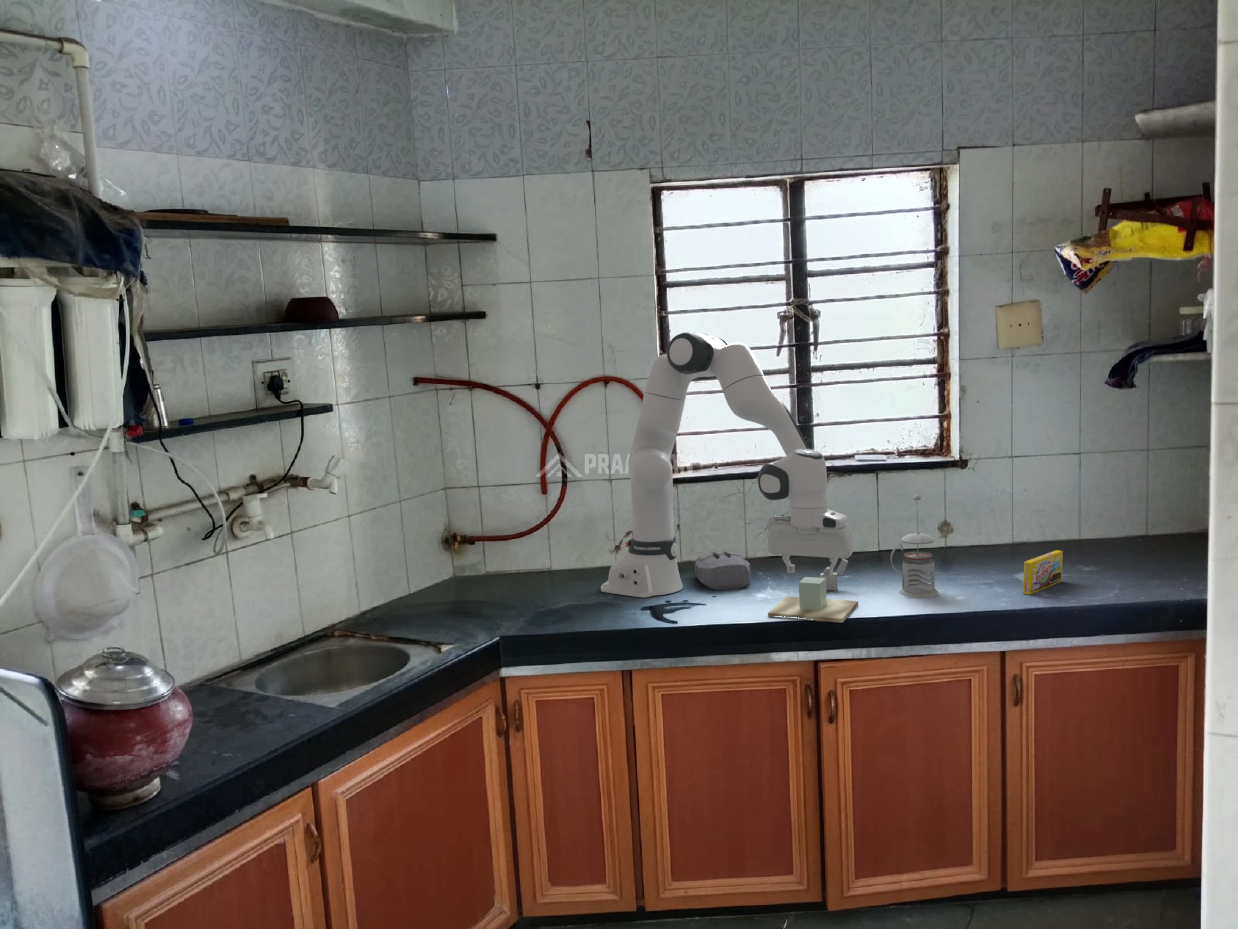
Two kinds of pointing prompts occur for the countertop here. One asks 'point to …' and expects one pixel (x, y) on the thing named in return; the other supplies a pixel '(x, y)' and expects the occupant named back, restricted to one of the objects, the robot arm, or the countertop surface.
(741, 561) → the grey rounded bag
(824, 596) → the pale sage rectangular block
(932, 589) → the french press
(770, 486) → the robot arm
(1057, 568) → the candy box
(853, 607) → the post stand
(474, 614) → the countertop surface
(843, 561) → the lighter
